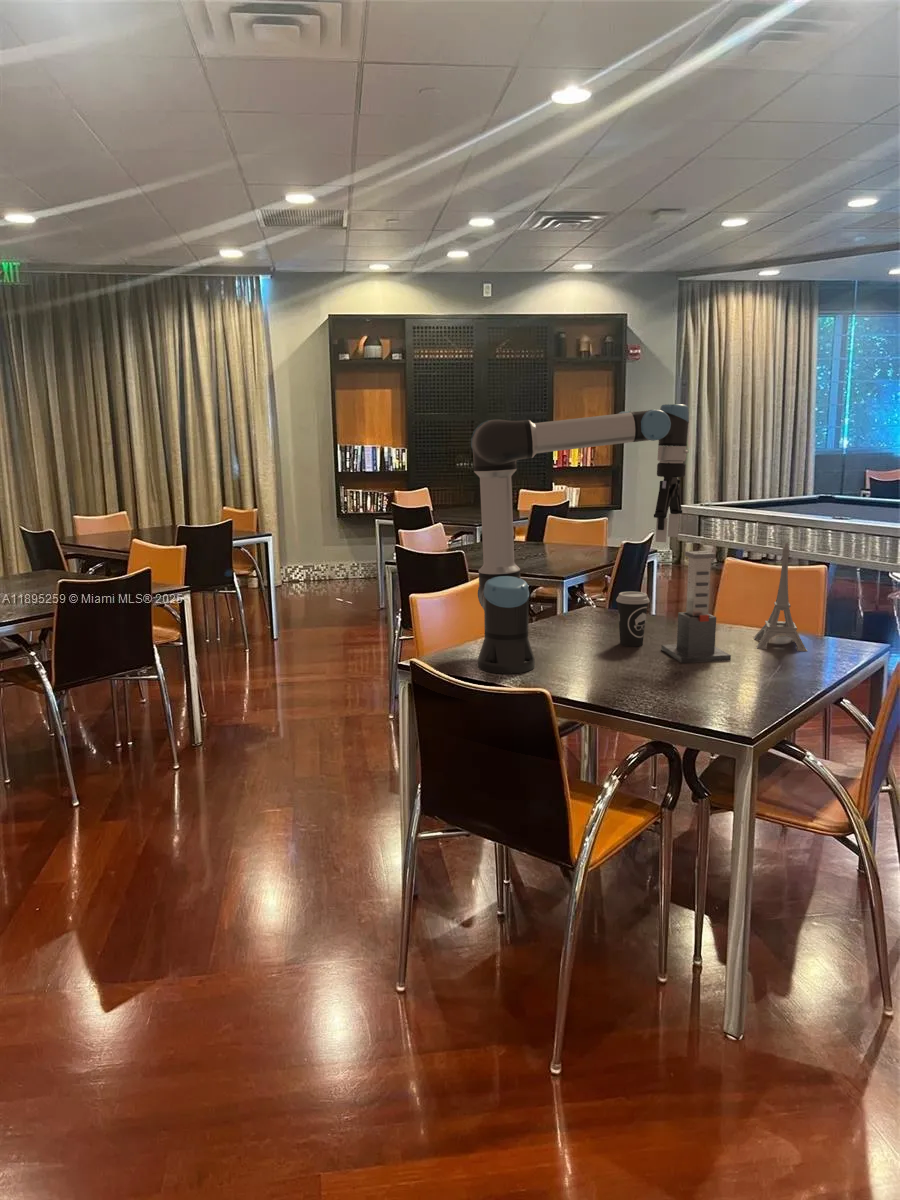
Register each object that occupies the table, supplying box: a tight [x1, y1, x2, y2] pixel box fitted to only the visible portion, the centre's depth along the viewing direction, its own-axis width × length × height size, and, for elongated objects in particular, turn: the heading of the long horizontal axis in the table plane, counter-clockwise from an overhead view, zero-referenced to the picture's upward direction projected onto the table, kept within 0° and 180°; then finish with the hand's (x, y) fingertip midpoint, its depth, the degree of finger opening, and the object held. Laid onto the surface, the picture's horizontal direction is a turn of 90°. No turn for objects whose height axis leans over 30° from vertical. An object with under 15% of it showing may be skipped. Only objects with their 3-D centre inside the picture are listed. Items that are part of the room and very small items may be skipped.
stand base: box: [660, 611, 732, 664], centre depth 226 cm, size 14×14×12 cm
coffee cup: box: [615, 591, 650, 648], centre depth 239 cm, size 10×10×15 cm
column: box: [684, 550, 716, 618], centre depth 225 cm, size 6×6×27 cm
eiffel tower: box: [753, 542, 808, 652], centre depth 235 cm, size 13×13×30 cm
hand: (666, 539), depth 228 cm, fingers open, 13 cm apart
